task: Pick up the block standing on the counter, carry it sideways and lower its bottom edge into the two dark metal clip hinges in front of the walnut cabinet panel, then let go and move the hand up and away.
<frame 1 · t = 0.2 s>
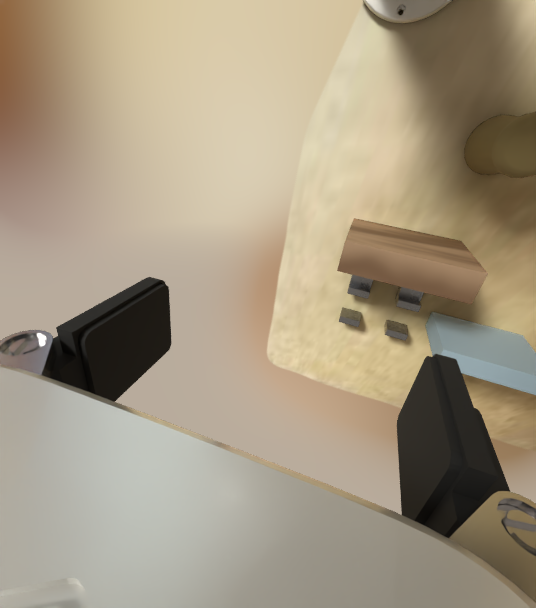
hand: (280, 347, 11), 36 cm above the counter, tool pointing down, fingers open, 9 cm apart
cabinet: (401, 241, 42), on the counter
block: (471, 330, 44), on the counter
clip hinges: (377, 305, 47), on the counter
brown rounded elongated piece: (494, 145, 35), on the counter
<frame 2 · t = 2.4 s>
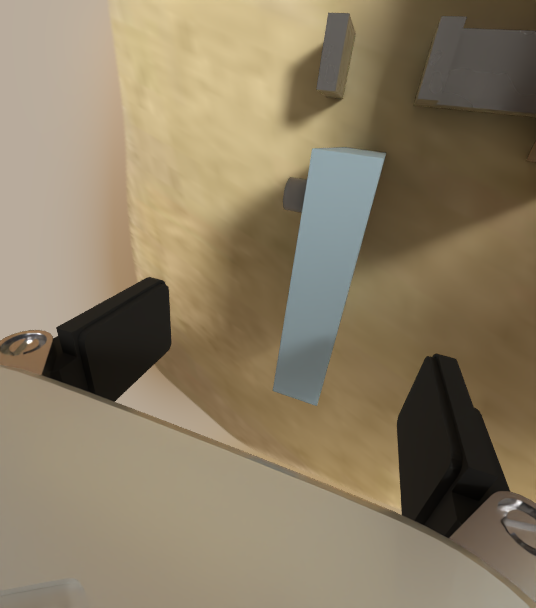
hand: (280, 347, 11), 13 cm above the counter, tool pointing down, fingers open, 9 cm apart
block: (343, 242, 22), on the counter
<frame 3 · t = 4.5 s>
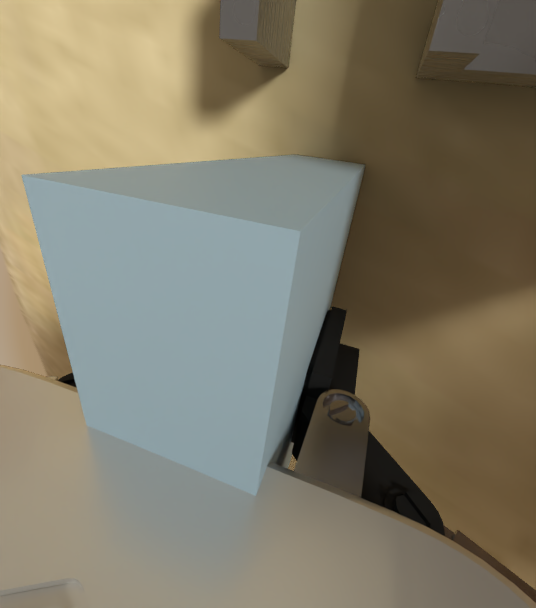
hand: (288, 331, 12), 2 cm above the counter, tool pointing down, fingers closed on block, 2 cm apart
block: (301, 305, 14), on the counter, touching gripper
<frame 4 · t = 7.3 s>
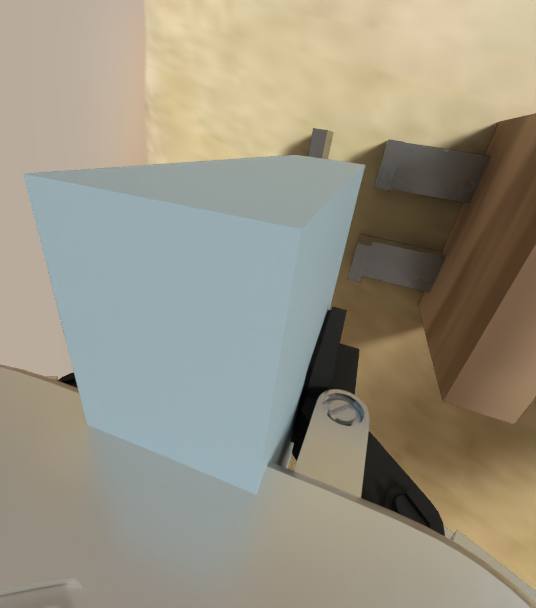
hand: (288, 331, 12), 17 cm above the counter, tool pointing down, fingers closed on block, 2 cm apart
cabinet: (477, 232, 23), on the counter
block: (301, 305, 14), point 15 cm above the counter, touching gripper
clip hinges: (342, 205, 25), on the counter
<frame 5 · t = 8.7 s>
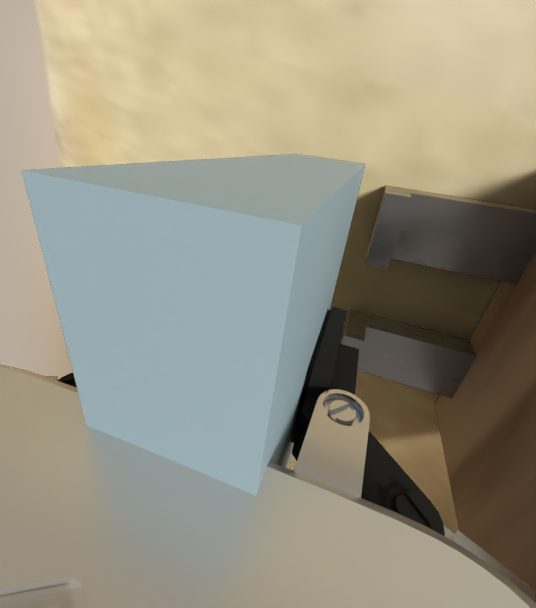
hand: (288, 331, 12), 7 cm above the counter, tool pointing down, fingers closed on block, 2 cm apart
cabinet: (525, 317, 15), on the counter
block: (301, 305, 14), point 5 cm above the counter, touching gripper
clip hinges: (324, 271, 18), on the counter
when the fingers open (4 cm above the counter, at t = 10.0 s): block stays where it is, on the counter.
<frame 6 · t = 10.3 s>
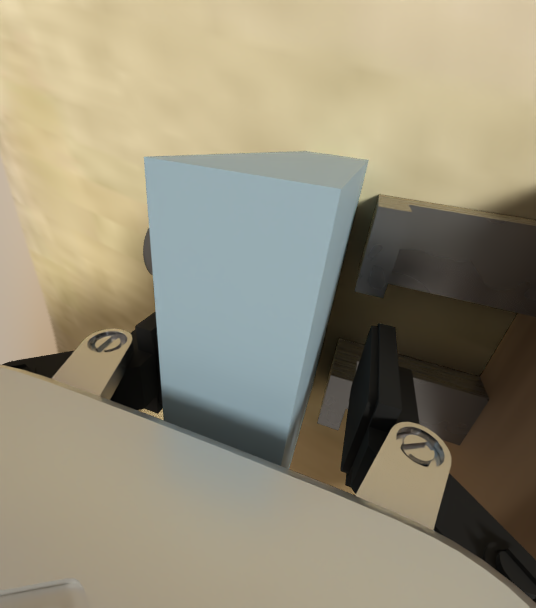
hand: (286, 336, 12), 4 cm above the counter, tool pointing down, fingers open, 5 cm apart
block: (309, 290, 15), on the counter
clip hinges: (307, 293, 15), on the counter
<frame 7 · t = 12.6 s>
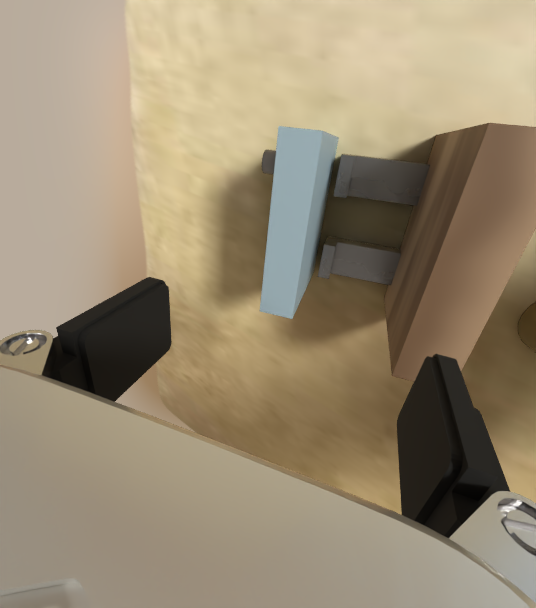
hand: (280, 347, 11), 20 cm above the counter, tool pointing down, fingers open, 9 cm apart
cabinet: (428, 230, 26), on the counter
block: (311, 209, 28), on the counter
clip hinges: (310, 211, 28), on the counter
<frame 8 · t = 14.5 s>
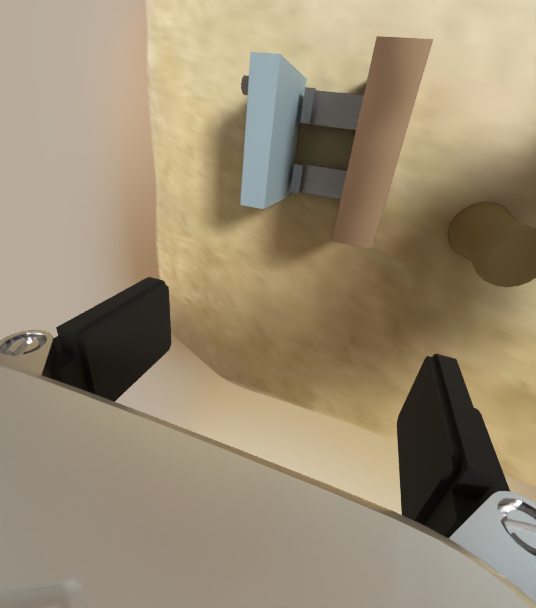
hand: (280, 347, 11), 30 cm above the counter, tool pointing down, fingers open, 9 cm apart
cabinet: (376, 154, 33), on the counter
block: (287, 140, 36), on the counter
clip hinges: (286, 142, 36), on the counter
brown rounded elongated piece: (479, 230, 34), on the counter
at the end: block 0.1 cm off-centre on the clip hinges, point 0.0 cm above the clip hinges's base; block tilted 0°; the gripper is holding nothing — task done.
